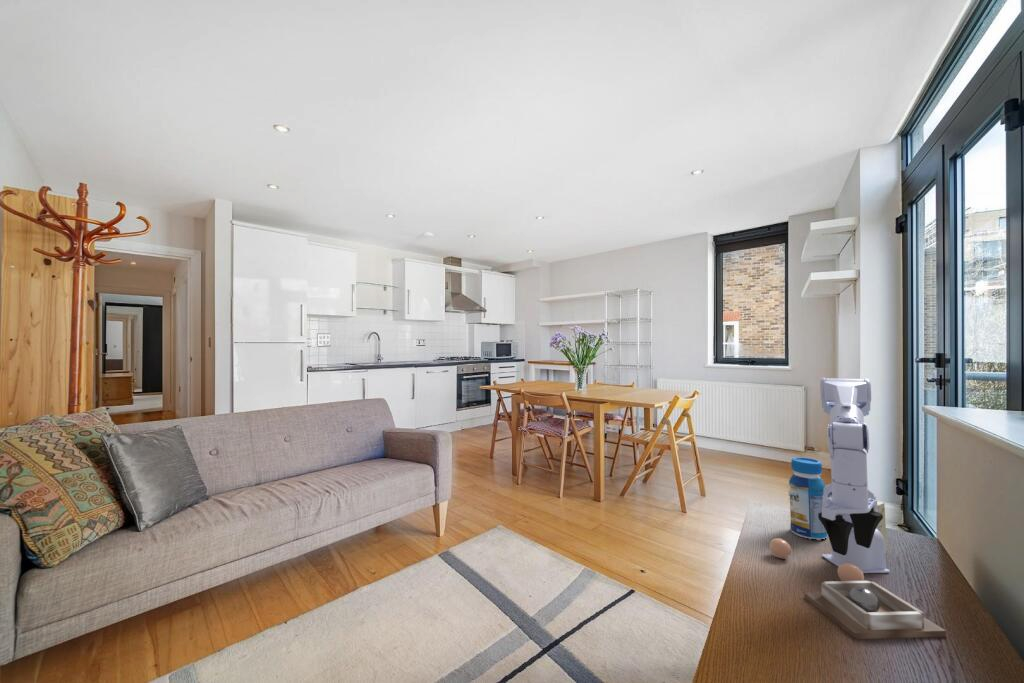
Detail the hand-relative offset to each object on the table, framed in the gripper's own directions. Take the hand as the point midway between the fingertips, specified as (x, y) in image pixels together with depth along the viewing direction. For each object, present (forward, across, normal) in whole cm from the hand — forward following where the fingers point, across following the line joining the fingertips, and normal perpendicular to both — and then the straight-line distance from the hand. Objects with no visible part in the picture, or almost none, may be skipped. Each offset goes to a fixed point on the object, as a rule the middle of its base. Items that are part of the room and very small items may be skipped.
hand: (851, 549), depth 83 cm
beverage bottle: (+10, -21, -22) cm, 32 cm away
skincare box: (+10, -25, -10) cm, 29 cm away
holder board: (+9, +4, +5) cm, 11 cm away
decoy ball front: (+7, -2, -16) cm, 18 cm away
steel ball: (+6, +6, +5) cm, 10 cm away
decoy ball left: (+7, -4, -3) cm, 9 cm away
